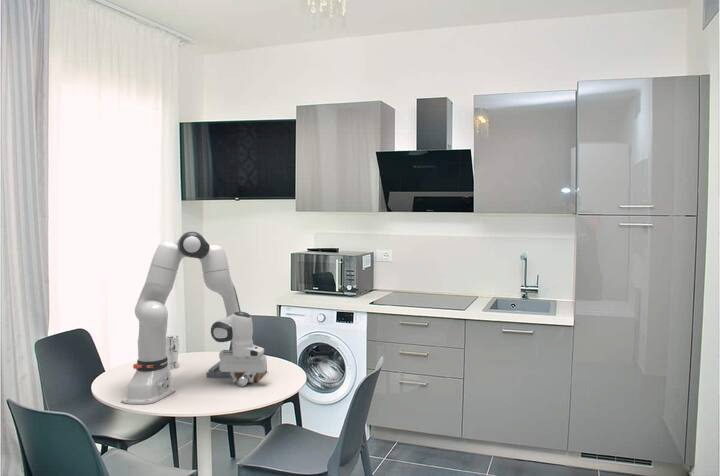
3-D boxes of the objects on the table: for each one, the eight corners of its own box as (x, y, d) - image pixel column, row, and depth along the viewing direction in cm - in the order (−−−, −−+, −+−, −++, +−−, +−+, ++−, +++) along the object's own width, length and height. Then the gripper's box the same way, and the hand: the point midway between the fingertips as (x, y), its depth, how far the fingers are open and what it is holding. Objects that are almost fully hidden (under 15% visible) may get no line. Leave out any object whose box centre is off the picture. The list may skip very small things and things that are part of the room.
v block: (228, 380, 251) (227, 370, 251) (206, 379, 252) (206, 369, 252) (238, 370, 265) (238, 361, 265) (217, 370, 266) (217, 361, 266)
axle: (245, 387, 238) (246, 378, 238) (236, 386, 238) (237, 377, 238) (256, 376, 254) (257, 367, 253) (248, 375, 254) (249, 366, 254)
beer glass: (174, 364, 277) (173, 334, 276) (182, 367, 272) (181, 336, 272) (161, 368, 271) (160, 337, 271) (169, 370, 267) (168, 339, 266)
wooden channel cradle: (256, 385, 244) (256, 373, 243) (234, 384, 245) (234, 373, 245) (267, 374, 260) (266, 363, 259) (245, 373, 261) (245, 363, 260)
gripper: (216, 351, 238) (217, 383, 239) (263, 352, 236) (264, 384, 237) (221, 347, 245) (222, 379, 246) (267, 348, 243) (268, 380, 243)
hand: (243, 382), depth 241 cm, fingers open, 5 cm apart
